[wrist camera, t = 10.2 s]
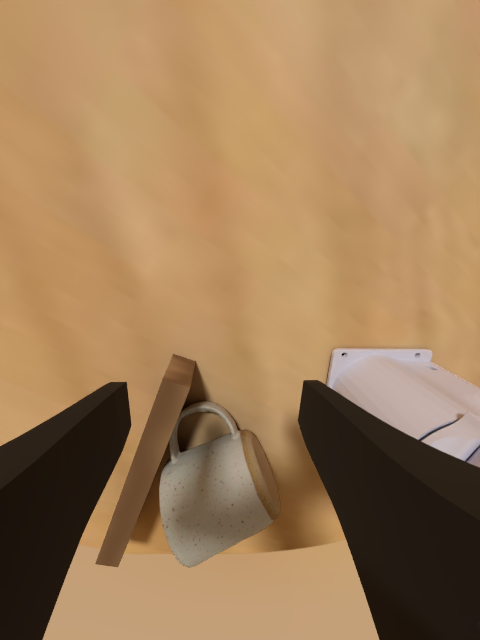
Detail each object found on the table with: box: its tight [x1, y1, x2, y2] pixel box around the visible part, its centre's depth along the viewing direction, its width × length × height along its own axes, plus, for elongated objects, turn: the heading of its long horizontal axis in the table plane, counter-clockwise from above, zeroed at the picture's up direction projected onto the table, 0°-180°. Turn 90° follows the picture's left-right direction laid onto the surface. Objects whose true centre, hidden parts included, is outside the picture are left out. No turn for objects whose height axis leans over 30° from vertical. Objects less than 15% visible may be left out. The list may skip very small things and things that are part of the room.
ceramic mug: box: [159, 401, 281, 567], centre depth 20 cm, size 11×8×8 cm
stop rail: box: [96, 354, 196, 567], centre depth 21 cm, size 2×20×4 cm, turn 158°
